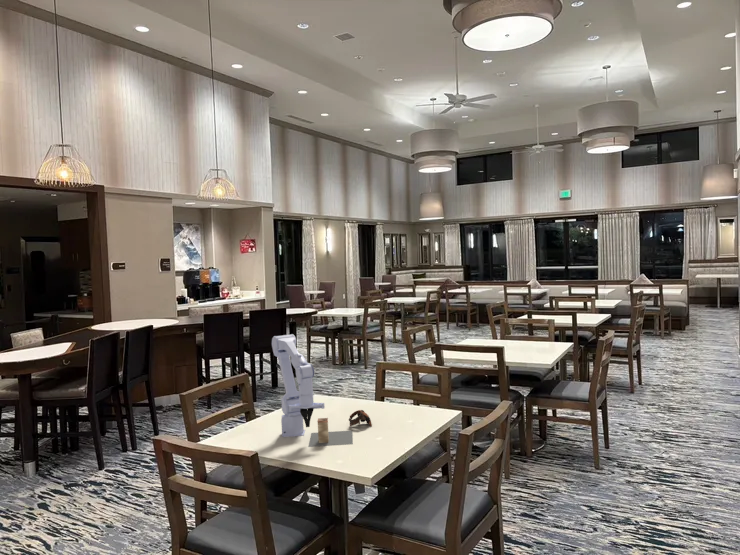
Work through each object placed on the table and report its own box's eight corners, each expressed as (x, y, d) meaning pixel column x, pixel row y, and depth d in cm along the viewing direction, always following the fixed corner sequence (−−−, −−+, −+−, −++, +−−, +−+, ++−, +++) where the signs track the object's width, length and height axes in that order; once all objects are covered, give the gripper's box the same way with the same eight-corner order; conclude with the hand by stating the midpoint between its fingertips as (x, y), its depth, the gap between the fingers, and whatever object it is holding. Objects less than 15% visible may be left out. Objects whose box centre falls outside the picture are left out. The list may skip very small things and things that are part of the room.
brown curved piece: (373, 430, 238) (363, 415, 236) (354, 439, 239) (345, 425, 237) (374, 415, 249) (365, 401, 247) (356, 424, 251) (347, 410, 249)
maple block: (318, 443, 221) (317, 421, 221) (319, 439, 225) (318, 418, 225) (328, 442, 221) (327, 420, 221) (328, 439, 225) (327, 417, 225)
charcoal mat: (308, 447, 217) (308, 446, 217) (311, 433, 235) (311, 432, 235) (352, 445, 217) (352, 444, 217) (352, 431, 235) (352, 430, 235)
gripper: (287, 397, 218) (289, 430, 218) (323, 395, 218) (324, 428, 219) (289, 393, 225) (291, 425, 225) (324, 391, 225) (325, 423, 226)
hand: (307, 426), depth 223 cm, fingers closed
